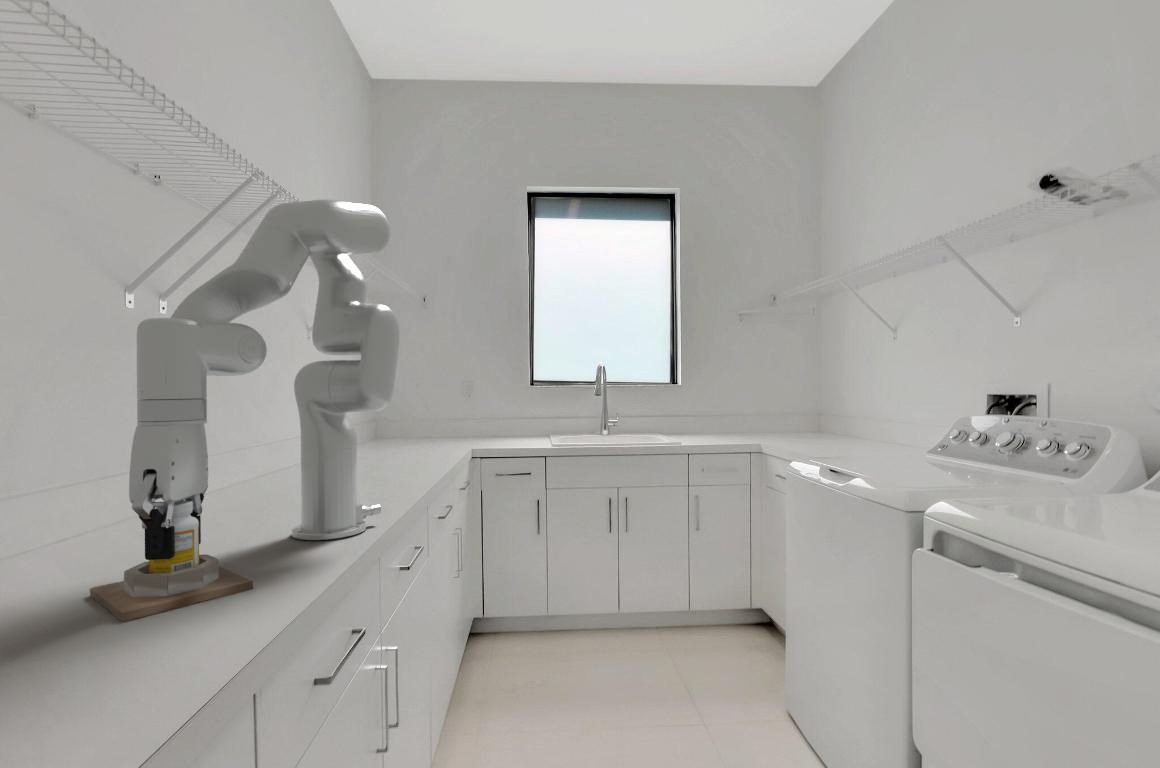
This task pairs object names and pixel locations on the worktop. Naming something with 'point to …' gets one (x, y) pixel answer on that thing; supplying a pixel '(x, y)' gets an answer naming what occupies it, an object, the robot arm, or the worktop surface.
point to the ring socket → (167, 588)
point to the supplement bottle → (181, 541)
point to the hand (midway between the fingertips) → (174, 550)
